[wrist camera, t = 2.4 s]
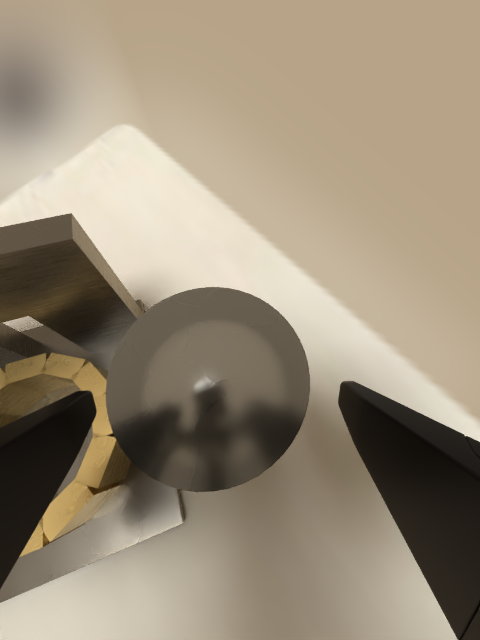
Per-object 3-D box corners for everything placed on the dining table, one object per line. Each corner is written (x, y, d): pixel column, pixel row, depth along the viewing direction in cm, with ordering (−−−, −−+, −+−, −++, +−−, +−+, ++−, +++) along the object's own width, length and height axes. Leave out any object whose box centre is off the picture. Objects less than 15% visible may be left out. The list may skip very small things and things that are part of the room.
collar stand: (184, 520, 13) (91, 666, 5) (-65, 627, 11) (-1019, 1224, 3) (143, 303, 19) (70, 196, 11) (-22, 348, 17) (-268, 260, 9)
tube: (261, 458, 15) (322, 501, 4) (185, 454, 15) (70, 487, 4) (261, 382, 17) (303, 290, 6) (195, 378, 17) (133, 281, 7)
